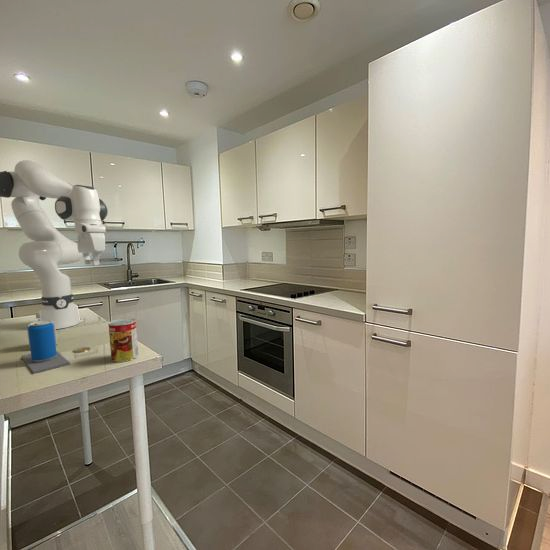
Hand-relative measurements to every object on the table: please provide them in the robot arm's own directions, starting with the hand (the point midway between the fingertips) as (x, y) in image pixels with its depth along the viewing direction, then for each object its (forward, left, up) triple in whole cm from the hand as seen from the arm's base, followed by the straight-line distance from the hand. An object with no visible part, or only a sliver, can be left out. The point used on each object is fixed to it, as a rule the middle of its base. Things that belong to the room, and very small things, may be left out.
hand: (91, 264), depth 120 cm
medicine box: (-5, -17, -29) cm, 34 cm away
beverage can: (+13, -20, -29) cm, 37 cm away
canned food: (+31, -2, -29) cm, 43 cm away
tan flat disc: (+11, -9, -29) cm, 32 cm away
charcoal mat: (+13, -20, -29) cm, 38 cm away
